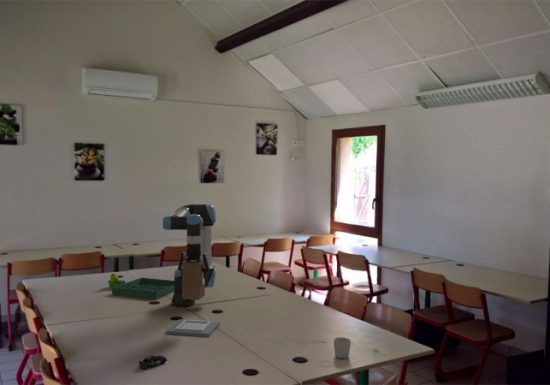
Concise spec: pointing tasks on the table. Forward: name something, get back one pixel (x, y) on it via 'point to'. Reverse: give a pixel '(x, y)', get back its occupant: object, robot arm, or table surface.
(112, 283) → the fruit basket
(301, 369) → the table surface
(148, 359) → the race car
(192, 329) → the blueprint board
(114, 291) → the maze
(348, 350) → the cup
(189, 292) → the wooden block
